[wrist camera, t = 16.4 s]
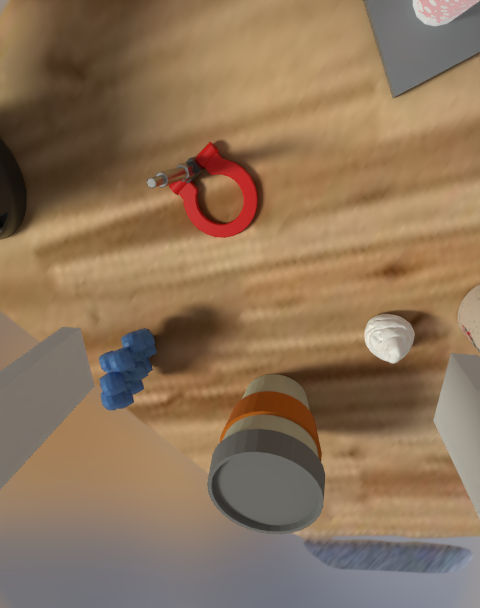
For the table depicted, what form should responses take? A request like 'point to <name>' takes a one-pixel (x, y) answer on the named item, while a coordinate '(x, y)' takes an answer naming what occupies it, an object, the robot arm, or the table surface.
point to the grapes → (126, 369)
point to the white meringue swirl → (389, 337)
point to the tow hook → (184, 187)
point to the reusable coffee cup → (269, 460)
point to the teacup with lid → (471, 316)
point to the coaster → (420, 42)
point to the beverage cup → (440, 10)
